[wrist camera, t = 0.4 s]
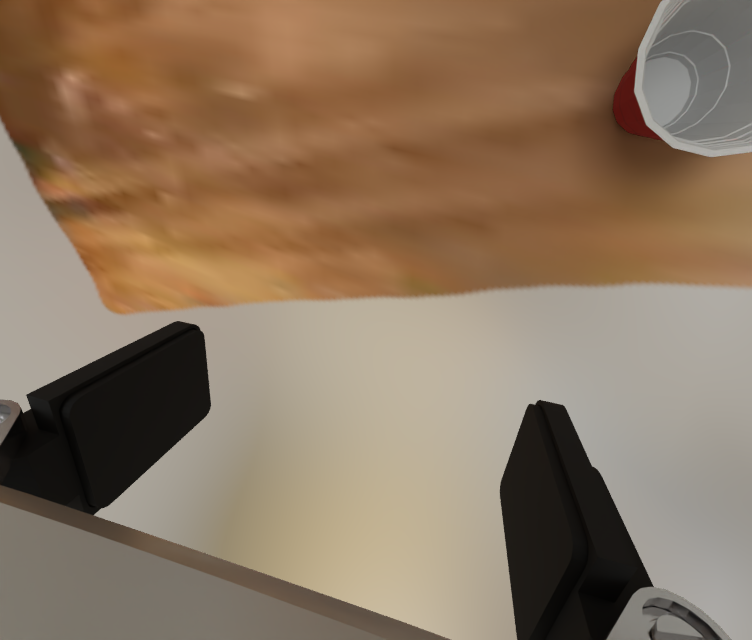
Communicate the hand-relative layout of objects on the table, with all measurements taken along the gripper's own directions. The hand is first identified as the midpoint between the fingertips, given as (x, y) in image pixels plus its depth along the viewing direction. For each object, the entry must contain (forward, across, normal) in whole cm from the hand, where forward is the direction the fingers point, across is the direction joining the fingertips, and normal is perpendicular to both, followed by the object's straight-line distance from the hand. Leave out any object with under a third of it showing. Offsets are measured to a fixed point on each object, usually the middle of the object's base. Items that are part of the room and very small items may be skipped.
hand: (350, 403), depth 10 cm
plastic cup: (+31, -16, -14) cm, 37 cm away
